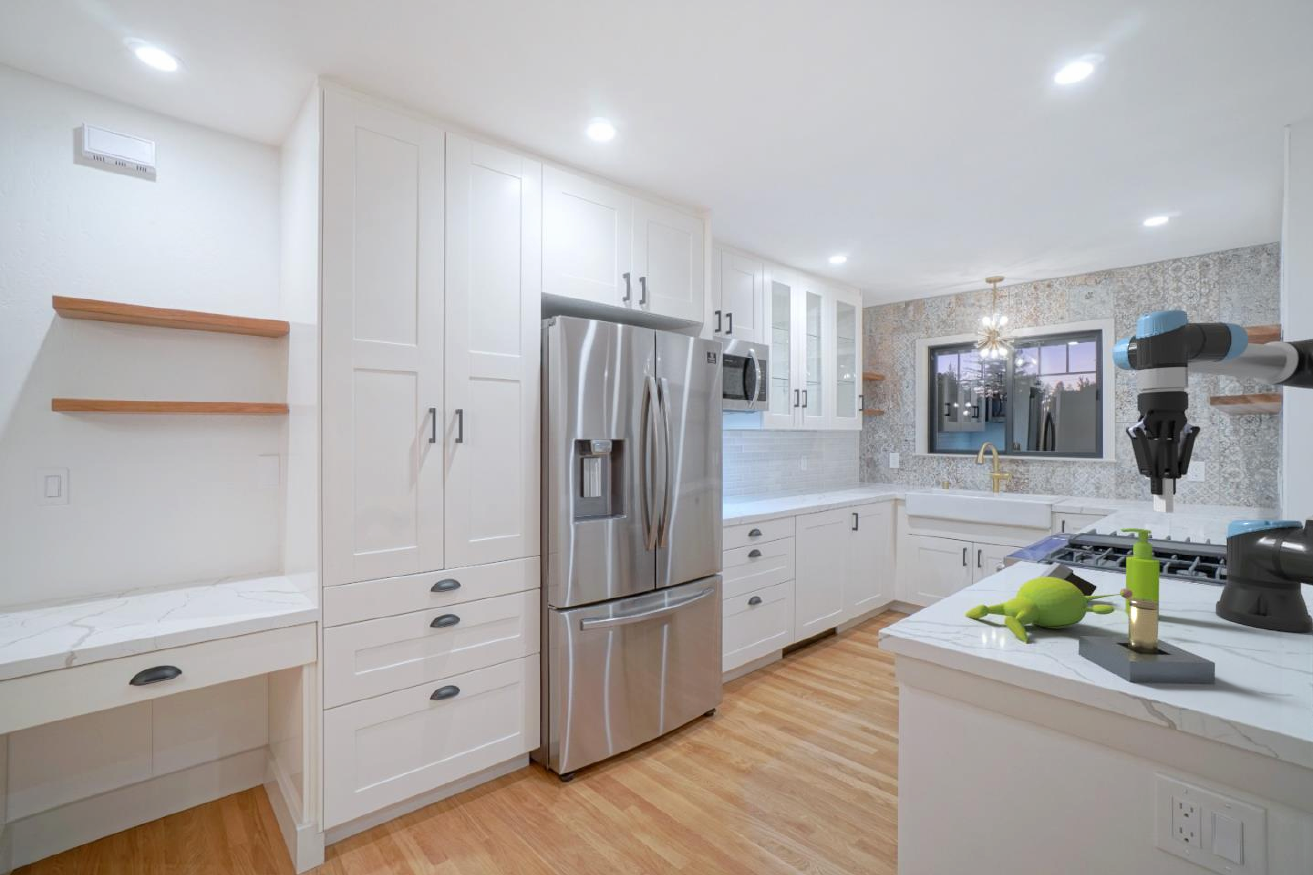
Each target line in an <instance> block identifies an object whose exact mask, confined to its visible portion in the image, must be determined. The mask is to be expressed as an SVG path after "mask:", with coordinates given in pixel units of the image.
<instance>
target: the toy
mask: <svg viewBox="0 0 1313 875" xmlns="http://www.w3.org/2000/svg"><path fill="white" fill-rule="evenodd" d="M1038 577H1039V576H1038ZM1038 577H1036V578H1032V579H1030V580H1028V581H1026V582H1025V583H1023V584H1022V585H1021V586H1020V587H1019V589H1018V591H1017V594H1016V597H1014V598H1011V599H1010V600H1007V601H1005V602H1002V603H997V604H994V605H990V606H989V605H988V606H987V605H984V604H979V605H977V606H974V607H972V608H971V609H970V610H968V611H967V612H966V613H965V615H964V616H965V617H966V618H969V619H980V618H984V617H987V616H988V615H989V614H990V615H999V616H1005V617H1004V624H1005V626H1006V627H1007V628H1008V629H1009V630H1010V631H1011V632H1012V634H1014V636H1015V637H1016V638H1018V639H1019V640H1020V641H1021V642H1023V643H1024V642H1025V644H1027V643H1028V640H1029V639H1028V633H1027V630H1026V628H1025V627H1024V626H1025V625H1030V624H1031V623H1032V624H1034V625H1036V626H1039V627H1042V628H1046V629H1052V630H1053V629H1054V630H1058V629H1061V630H1062V629H1067V628H1070V627H1072V626H1075V625H1077V624H1079V623H1080V622H1082V620H1083V619H1084V617H1086V614H1087V613H1093V612H1094V614H1097V615H1110V614H1112V613H1114V611H1115V607H1113V605H1109V604H1093V605H1092V606H1091V607H1088V601H1089V602H1090V601H1093V600H1098V599H1101V598H1102V599H1103V598H1108V597H1115V596H1121V597H1122V598H1124V599H1126V598H1131V597H1132V591H1131V590H1129V589H1127V588H1126V587H1125V588H1121V590H1120V592H1119V593H1117V594H1116V593H1115V594H1102V595H1100V594H1099V595H1091V596H1084V594H1083V593H1082V592H1081V590H1079V589H1078V588H1077V587H1076V586H1075V585H1073V584H1072V583H1070V582H1068V581H1065V580H1062V579H1060V578H1055V577H1039V578H1038ZM1086 601H1087V602H1086Z"/></svg>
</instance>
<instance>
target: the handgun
mask: <svg viewBox="0 0 1313 875" xmlns="http://www.w3.org/2000/svg"><path fill="white" fill-rule="evenodd" d="M1039 577H1055V578H1060V579H1062V580H1065V581H1068V582H1070V583H1072V584H1073V585H1075V586H1076V587H1077V588H1078V589H1079V590H1081V592H1082V593H1083V594H1084V596H1093V594H1094V592H1095V591H1096V589H1097V585H1095V584H1094V583H1091V582H1089V581H1088V580H1086V579H1084V578H1082V577H1081V576H1078V575H1076V574H1075V573H1074V569H1072V568H1070V567H1069V566H1066V565H1064V564H1062V563H1060V562H1056V561H1055V562H1054V561H1053V563H1052V564H1051V565H1050V566H1049V567H1047V569H1046V570H1044V571H1043V572H1042V573H1041V574H1040V575H1039V576H1038V577H1037V578H1039ZM1086 602H1087V603H1088V601H1086Z"/></svg>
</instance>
